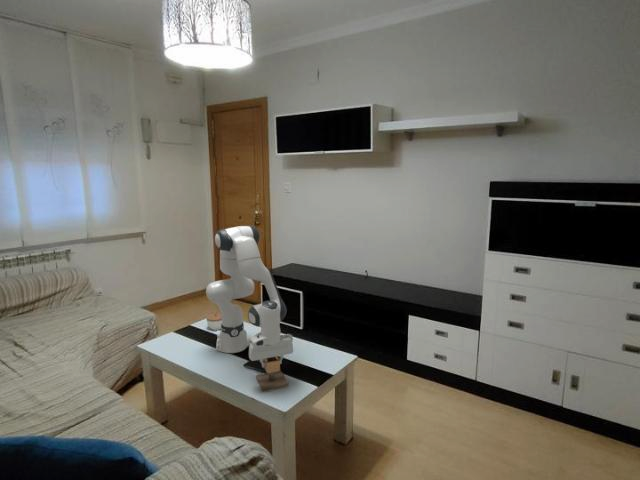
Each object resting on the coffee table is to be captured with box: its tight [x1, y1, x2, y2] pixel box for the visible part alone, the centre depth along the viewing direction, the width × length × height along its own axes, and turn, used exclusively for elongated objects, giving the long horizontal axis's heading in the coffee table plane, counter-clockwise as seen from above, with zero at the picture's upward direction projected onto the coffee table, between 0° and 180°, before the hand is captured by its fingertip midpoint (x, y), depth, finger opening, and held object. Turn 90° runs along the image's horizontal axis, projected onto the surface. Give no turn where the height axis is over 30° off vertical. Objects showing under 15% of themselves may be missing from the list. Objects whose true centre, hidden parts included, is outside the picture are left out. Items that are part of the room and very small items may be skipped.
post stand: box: [255, 369, 289, 393], centre depth 181 cm, size 12×12×10 cm
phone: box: [242, 359, 267, 374], centre depth 196 cm, size 8×1×15 cm
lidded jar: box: [206, 312, 222, 331], centre depth 241 cm, size 11×11×9 cm
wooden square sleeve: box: [263, 356, 281, 373], centre depth 180 cm, size 6×6×5 cm
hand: (271, 365), depth 180 cm, fingers closed on wooden square sleeve, 6 cm apart
